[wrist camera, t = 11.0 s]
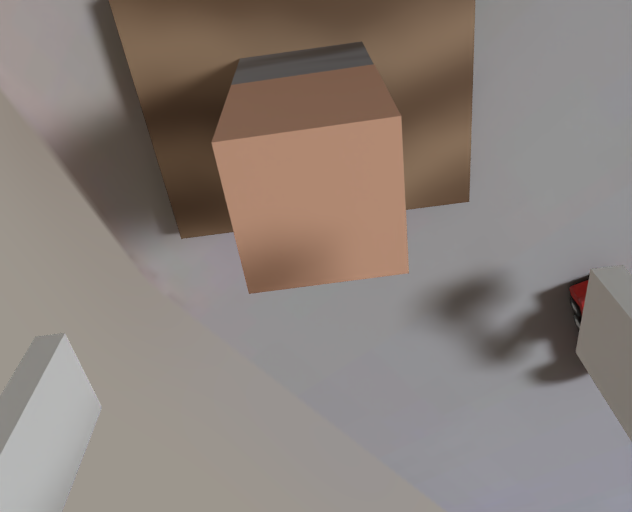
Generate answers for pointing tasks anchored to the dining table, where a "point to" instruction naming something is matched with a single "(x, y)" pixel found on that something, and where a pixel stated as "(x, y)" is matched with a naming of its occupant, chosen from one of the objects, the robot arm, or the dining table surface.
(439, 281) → the dining table surface
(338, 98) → the terracotta brick
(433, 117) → the board
